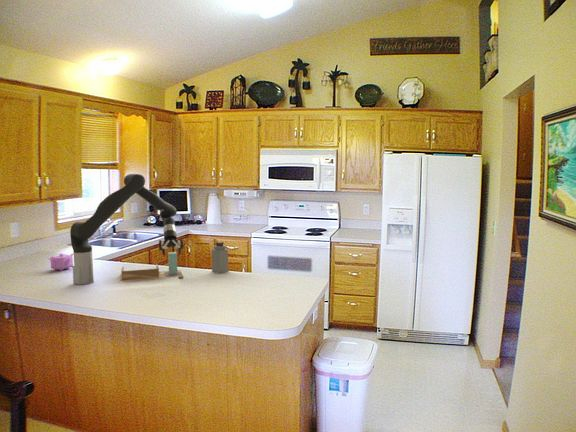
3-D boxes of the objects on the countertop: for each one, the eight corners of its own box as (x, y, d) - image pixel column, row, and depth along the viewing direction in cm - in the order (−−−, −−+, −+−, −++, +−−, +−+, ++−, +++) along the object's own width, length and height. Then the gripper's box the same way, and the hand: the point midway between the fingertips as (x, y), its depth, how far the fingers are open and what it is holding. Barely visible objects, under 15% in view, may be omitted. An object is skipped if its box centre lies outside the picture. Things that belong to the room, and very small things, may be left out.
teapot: (56, 273, 264) (55, 257, 263) (42, 271, 270) (41, 255, 269) (82, 267, 280) (82, 252, 279) (68, 265, 286) (68, 250, 285)
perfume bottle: (220, 273, 264) (219, 243, 262) (212, 271, 268) (211, 242, 266) (228, 271, 270) (227, 241, 268) (220, 269, 274) (219, 240, 272)
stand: (120, 276, 257) (119, 265, 256) (180, 271, 268) (180, 261, 267) (119, 283, 242) (118, 272, 241) (183, 278, 253) (183, 267, 252)
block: (168, 272, 260) (168, 252, 259) (176, 271, 262) (176, 251, 260) (169, 274, 256) (168, 253, 255) (177, 273, 257) (176, 253, 256)
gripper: (158, 230, 271) (159, 252, 261) (182, 228, 275) (184, 250, 266) (158, 237, 276) (159, 259, 267) (181, 236, 281) (183, 257, 271)
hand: (171, 254), depth 266 cm, fingers open, 8 cm apart
